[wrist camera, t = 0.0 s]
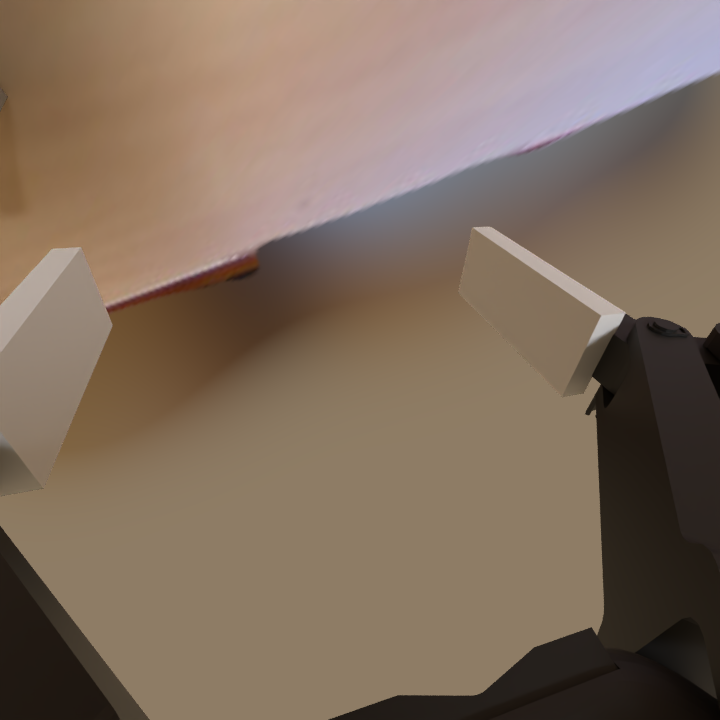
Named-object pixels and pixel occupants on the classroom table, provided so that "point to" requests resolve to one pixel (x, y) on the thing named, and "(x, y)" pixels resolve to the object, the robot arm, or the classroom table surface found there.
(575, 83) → the classroom table surface
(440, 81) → the classroom table surface
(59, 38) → the classroom table surface
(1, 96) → the cassette player
